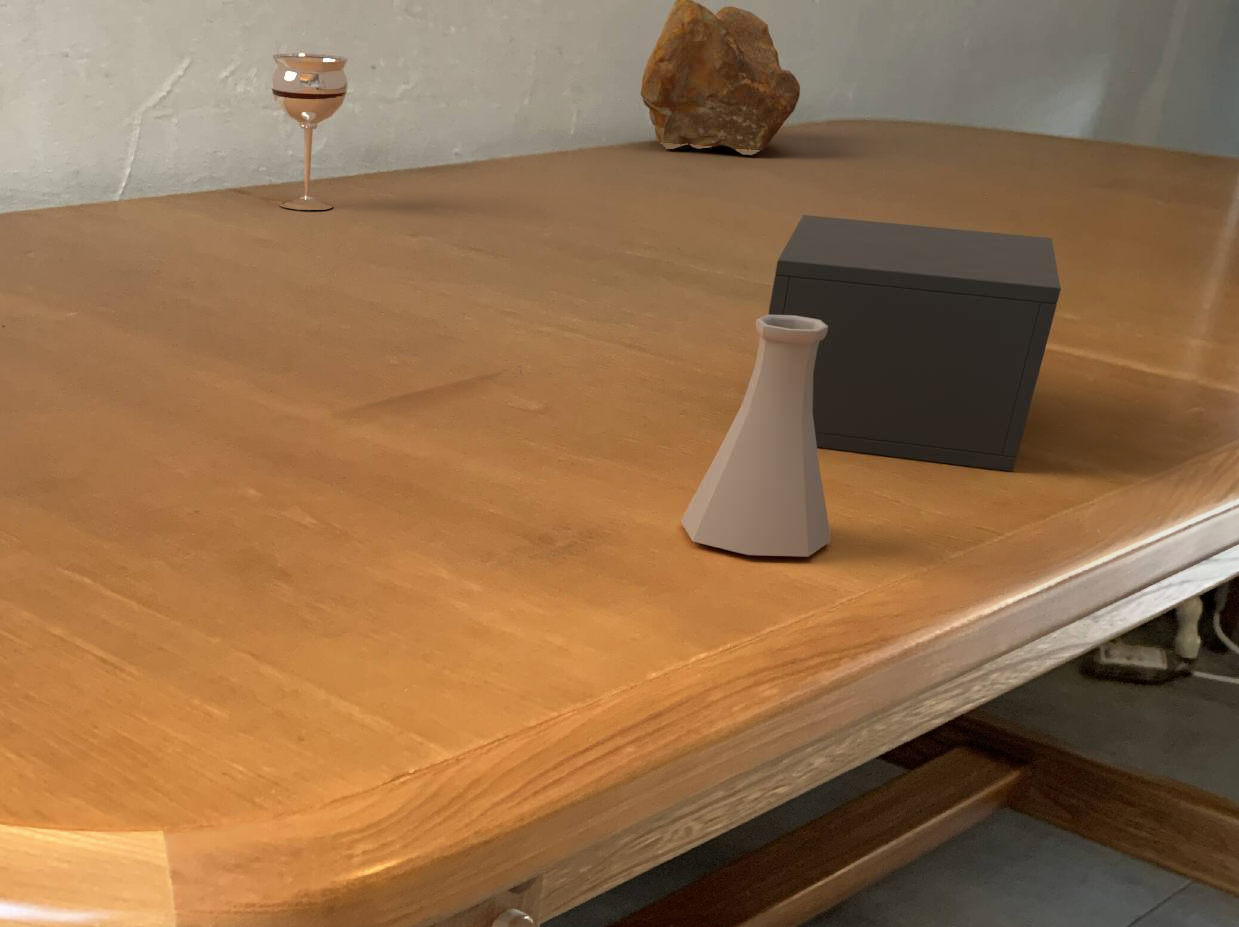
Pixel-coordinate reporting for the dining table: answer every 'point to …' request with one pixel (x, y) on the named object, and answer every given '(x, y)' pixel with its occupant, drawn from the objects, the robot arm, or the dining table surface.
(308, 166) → the wineglass
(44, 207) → the dining table surface
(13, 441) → the dining table surface
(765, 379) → the flask
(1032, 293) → the cabinet
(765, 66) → the rough brown rock
